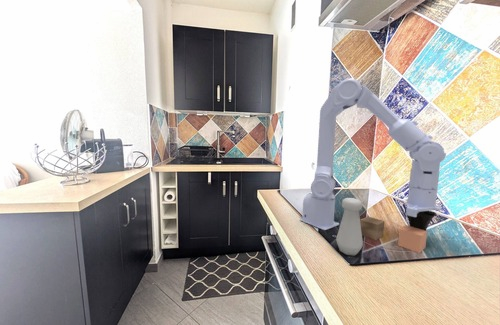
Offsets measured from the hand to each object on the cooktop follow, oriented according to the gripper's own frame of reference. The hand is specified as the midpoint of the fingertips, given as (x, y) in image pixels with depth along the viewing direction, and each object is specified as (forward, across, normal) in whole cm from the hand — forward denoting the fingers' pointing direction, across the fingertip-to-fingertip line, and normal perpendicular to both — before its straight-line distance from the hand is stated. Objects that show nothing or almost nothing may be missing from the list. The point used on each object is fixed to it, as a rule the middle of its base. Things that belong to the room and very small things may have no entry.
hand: (417, 237), depth 56 cm
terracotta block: (+2, -4, 0) cm, 4 cm away
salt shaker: (+2, -20, +8) cm, 22 cm away
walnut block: (+2, -6, +9) cm, 11 cm away
